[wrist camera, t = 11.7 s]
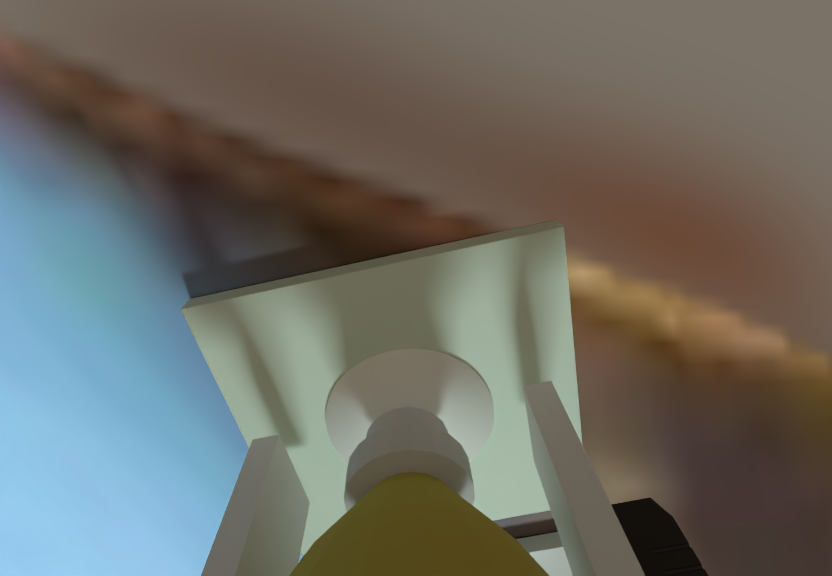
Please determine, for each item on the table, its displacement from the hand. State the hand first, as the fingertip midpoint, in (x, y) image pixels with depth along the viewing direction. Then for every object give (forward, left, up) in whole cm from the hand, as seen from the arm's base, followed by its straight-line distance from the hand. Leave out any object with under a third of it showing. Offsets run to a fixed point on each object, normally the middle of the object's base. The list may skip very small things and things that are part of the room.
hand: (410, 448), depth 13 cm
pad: (0, 0, -2) cm, 2 cm away
